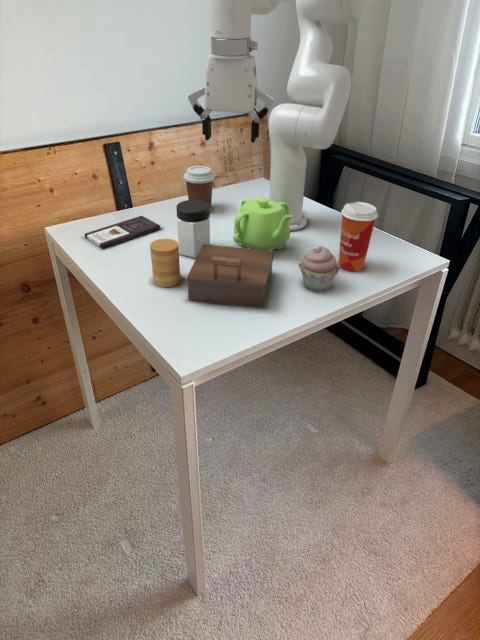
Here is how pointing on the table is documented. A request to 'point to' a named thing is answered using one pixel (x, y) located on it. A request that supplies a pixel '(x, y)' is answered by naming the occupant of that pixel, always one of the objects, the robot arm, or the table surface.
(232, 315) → the table surface
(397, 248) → the table surface
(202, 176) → the coffee cup
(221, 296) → the chest
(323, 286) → the cupcake
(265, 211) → the teapot
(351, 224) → the coffee cup
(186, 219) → the jar
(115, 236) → the chocolate bar
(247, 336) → the table surface
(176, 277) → the cookie stack
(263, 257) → the lid
